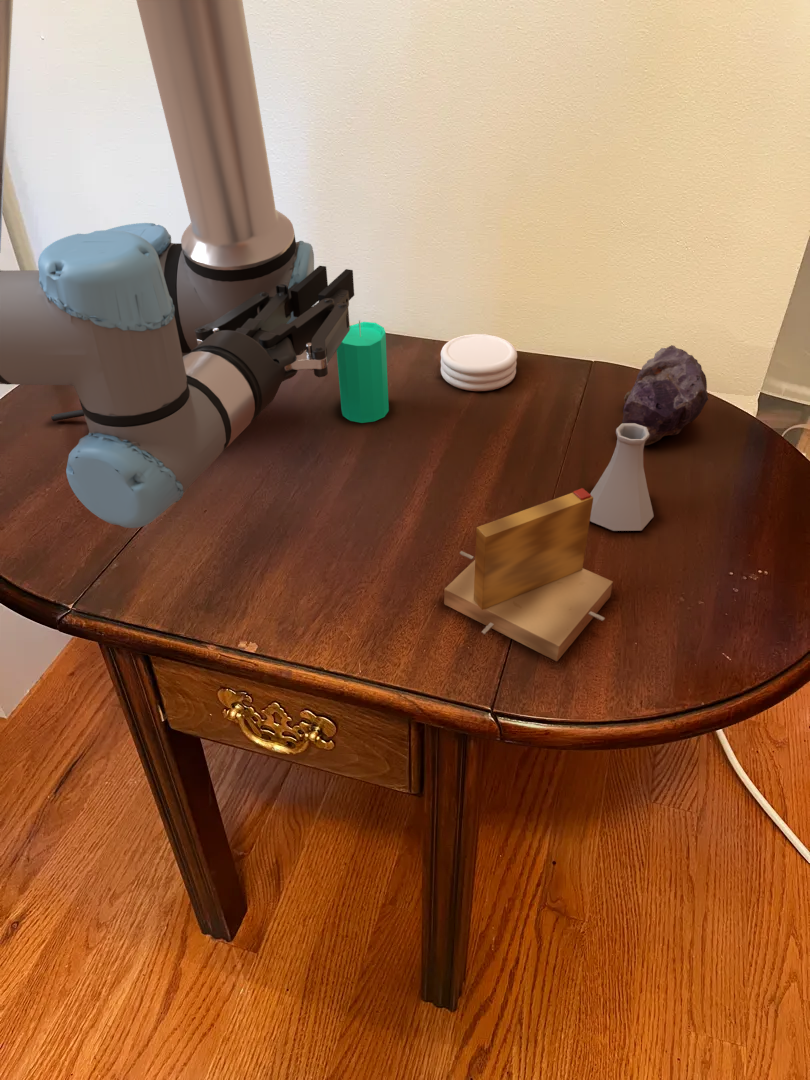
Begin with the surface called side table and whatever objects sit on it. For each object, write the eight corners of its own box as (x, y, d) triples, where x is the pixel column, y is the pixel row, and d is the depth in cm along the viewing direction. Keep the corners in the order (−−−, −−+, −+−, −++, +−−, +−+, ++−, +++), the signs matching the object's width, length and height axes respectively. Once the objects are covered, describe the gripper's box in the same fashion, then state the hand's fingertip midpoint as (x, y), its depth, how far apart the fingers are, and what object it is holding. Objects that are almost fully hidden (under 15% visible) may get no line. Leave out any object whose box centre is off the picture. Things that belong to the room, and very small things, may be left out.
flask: (657, 498, 90) (674, 418, 83) (649, 539, 84) (667, 457, 78) (589, 486, 92) (601, 407, 85) (577, 526, 86) (589, 445, 80)
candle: (391, 398, 107) (388, 309, 99) (386, 423, 102) (381, 333, 94) (345, 397, 107) (338, 308, 100) (337, 422, 103) (329, 331, 95)
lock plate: (413, 613, 77) (413, 596, 76) (502, 528, 86) (503, 512, 85) (558, 689, 70) (560, 672, 69) (638, 588, 79) (642, 571, 78)
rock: (605, 448, 99) (692, 465, 96) (610, 391, 93) (703, 406, 89) (629, 389, 106) (711, 402, 103) (635, 331, 100) (723, 344, 96)
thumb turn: (482, 610, 74) (485, 534, 69) (473, 599, 76) (476, 524, 70) (582, 569, 78) (593, 495, 73) (572, 560, 79) (583, 486, 74)
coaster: (435, 358, 115) (435, 335, 112) (507, 353, 115) (508, 329, 113) (446, 395, 107) (446, 371, 105) (523, 390, 108) (525, 365, 105)
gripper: (150, 412, 74) (275, 304, 91) (305, 444, 70) (407, 324, 86) (130, 335, 69) (266, 235, 86) (296, 363, 65) (405, 253, 82)
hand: (336, 280), depth 86 cm, fingers open, 2 cm apart
